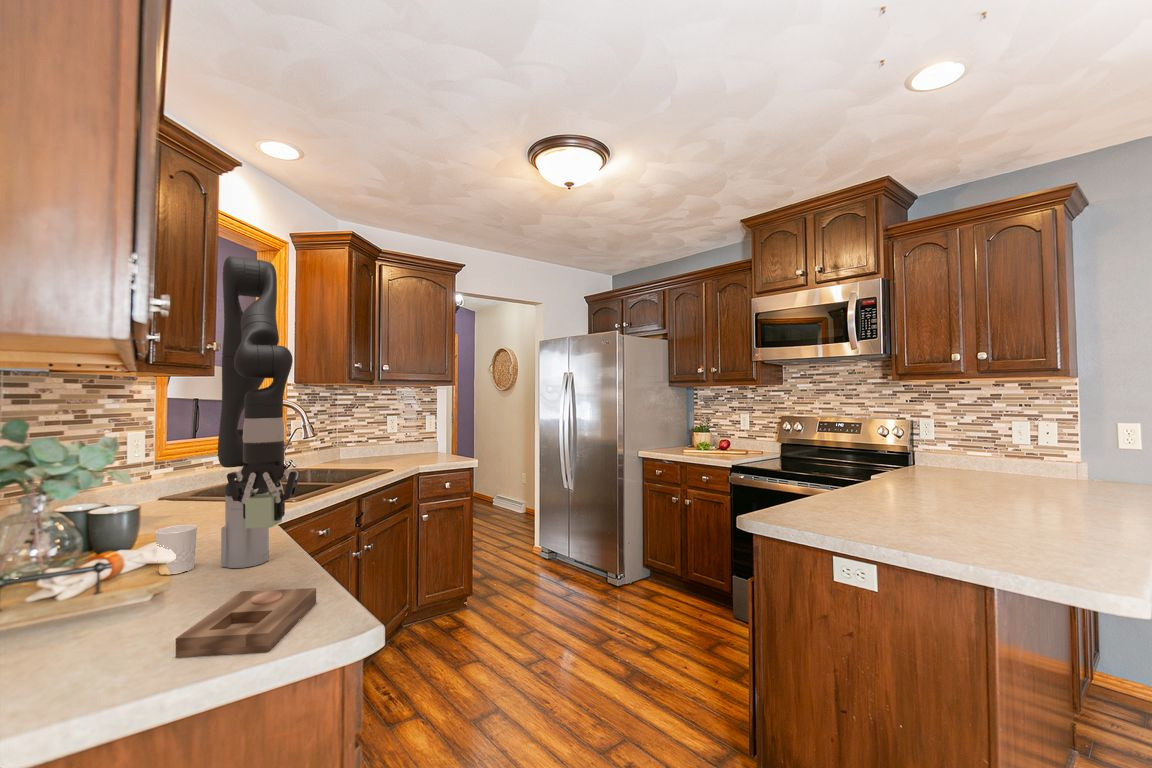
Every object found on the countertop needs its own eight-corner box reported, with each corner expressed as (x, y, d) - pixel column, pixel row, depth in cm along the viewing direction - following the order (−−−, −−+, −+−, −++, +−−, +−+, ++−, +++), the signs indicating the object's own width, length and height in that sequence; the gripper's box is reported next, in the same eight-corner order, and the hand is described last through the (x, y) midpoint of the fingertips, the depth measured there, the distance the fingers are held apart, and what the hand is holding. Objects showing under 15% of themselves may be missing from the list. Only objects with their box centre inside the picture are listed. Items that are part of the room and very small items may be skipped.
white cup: (152, 571, 125) (152, 529, 125) (192, 563, 131) (192, 523, 131) (158, 579, 120) (159, 535, 120) (200, 570, 126) (200, 528, 126)
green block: (245, 528, 108) (245, 498, 108) (257, 522, 113) (257, 494, 113) (271, 527, 108) (271, 498, 108) (281, 521, 113) (281, 493, 113)
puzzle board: (175, 657, 84) (175, 634, 84) (241, 606, 103) (241, 588, 104) (268, 651, 85) (268, 629, 85) (316, 603, 105) (316, 584, 105)
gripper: (306, 437, 115) (306, 515, 115) (237, 438, 114) (237, 517, 114) (292, 440, 108) (292, 523, 108) (217, 441, 106) (217, 526, 106)
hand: (264, 520), depth 111 cm, fingers closed on green block, 5 cm apart
